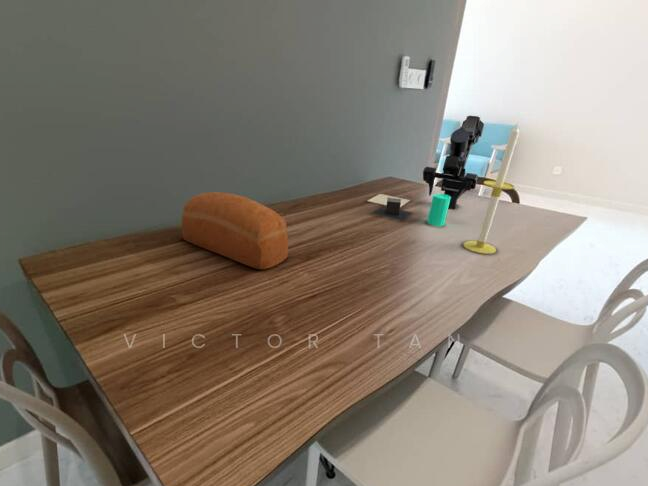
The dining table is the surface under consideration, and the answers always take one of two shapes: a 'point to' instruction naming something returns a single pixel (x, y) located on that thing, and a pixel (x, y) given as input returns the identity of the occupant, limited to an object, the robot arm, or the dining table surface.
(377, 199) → the cream pad
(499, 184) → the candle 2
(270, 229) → the bread
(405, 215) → the charcoal mat
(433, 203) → the candle
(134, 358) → the dining table surface
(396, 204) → the charcoal block
